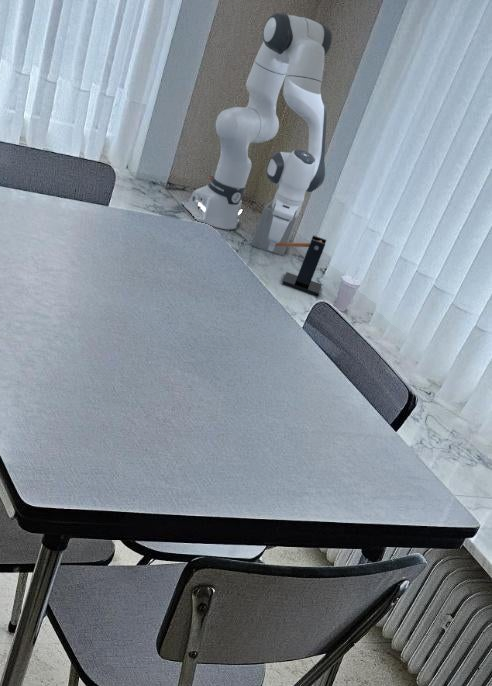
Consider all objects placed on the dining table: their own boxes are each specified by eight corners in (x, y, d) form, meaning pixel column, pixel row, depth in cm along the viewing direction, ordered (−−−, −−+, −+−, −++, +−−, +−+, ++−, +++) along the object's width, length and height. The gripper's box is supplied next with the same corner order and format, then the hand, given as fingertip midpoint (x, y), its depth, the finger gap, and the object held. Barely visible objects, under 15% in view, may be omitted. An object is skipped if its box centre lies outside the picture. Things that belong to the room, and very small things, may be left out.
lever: (268, 250, 315) (268, 242, 314) (270, 245, 319) (270, 237, 318) (320, 251, 312) (321, 243, 310) (322, 246, 316) (322, 239, 315)
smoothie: (349, 315, 312) (366, 274, 304) (329, 308, 312) (346, 267, 304) (349, 307, 317) (366, 267, 309) (330, 301, 317) (346, 260, 309)
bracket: (282, 284, 318) (299, 237, 309) (285, 275, 325) (302, 229, 316) (317, 296, 317) (336, 250, 308) (320, 287, 325) (338, 241, 316)
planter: (264, 255, 335) (284, 199, 324) (250, 244, 340) (269, 189, 329) (299, 255, 345) (319, 201, 334) (285, 245, 349) (304, 191, 338)
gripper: (280, 193, 318) (266, 234, 326) (273, 210, 301) (258, 253, 309) (299, 199, 318) (284, 240, 325) (293, 217, 301) (277, 260, 309)
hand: (271, 247), depth 317 cm, fingers closed on lever, 5 cm apart
